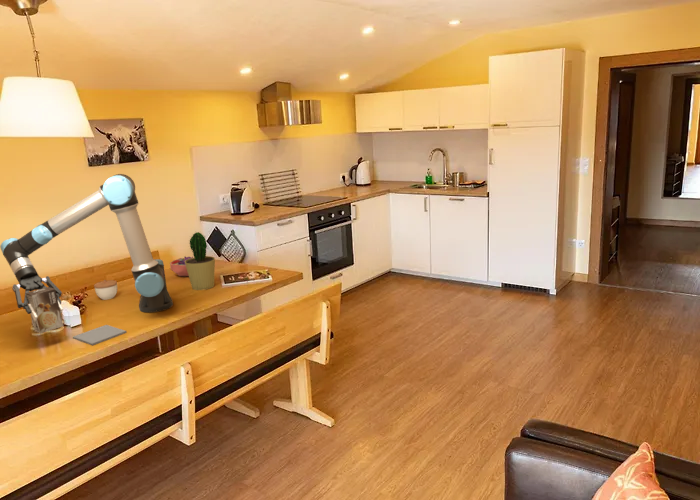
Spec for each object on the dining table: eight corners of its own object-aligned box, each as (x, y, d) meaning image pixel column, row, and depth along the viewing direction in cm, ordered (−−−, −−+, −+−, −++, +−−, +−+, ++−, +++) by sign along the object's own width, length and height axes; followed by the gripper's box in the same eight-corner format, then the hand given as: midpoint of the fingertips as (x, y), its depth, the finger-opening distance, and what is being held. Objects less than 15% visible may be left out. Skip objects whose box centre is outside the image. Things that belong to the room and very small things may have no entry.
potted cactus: (201, 281, 299) (195, 227, 292) (224, 283, 292) (217, 228, 285) (181, 289, 285) (174, 233, 278) (204, 292, 279) (197, 235, 272)
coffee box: (57, 323, 226) (49, 286, 222) (63, 326, 221) (56, 288, 218) (33, 330, 219) (25, 292, 215) (39, 333, 215) (31, 295, 211)
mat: (106, 326, 238) (106, 324, 238) (126, 332, 229) (126, 330, 229) (73, 338, 226) (72, 336, 226) (92, 345, 217) (92, 343, 217)
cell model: (192, 269, 326) (190, 250, 323) (209, 274, 312) (206, 255, 309) (165, 275, 315) (163, 256, 312) (181, 281, 301) (178, 262, 298)
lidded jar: (105, 294, 285) (102, 277, 283) (123, 294, 283) (120, 277, 281) (91, 301, 275) (88, 283, 273) (110, 301, 273) (107, 283, 270)
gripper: (50, 270, 233) (74, 311, 227) (-6, 283, 217) (18, 329, 211) (53, 259, 228) (78, 301, 222) (-5, 272, 212) (20, 318, 206)
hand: (48, 314), depth 217 cm, fingers closed on coffee box, 9 cm apart
